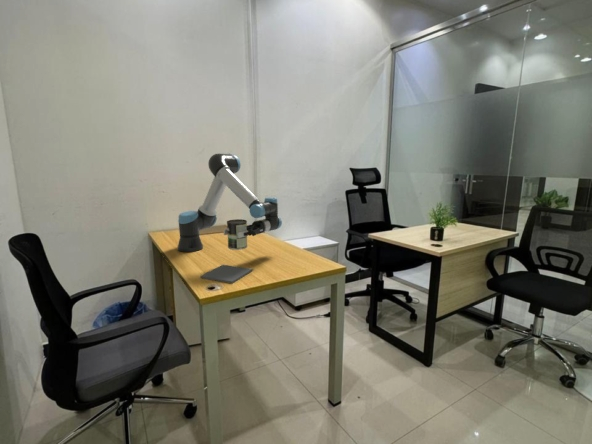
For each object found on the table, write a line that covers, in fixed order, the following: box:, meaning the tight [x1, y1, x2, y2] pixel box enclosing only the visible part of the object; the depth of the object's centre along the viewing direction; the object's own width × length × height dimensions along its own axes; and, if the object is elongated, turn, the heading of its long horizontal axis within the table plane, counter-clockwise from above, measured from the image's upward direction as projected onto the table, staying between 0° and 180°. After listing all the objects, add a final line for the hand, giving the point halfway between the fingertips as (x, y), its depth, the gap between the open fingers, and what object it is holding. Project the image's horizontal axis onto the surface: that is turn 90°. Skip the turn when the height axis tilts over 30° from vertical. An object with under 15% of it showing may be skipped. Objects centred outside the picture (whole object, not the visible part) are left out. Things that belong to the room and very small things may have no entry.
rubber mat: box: [200, 264, 254, 284], centre depth 153 cm, size 18×18×1 cm
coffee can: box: [226, 218, 248, 251], centre depth 164 cm, size 10×10×14 cm
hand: (231, 234), depth 160 cm, fingers closed on coffee can, 10 cm apart
